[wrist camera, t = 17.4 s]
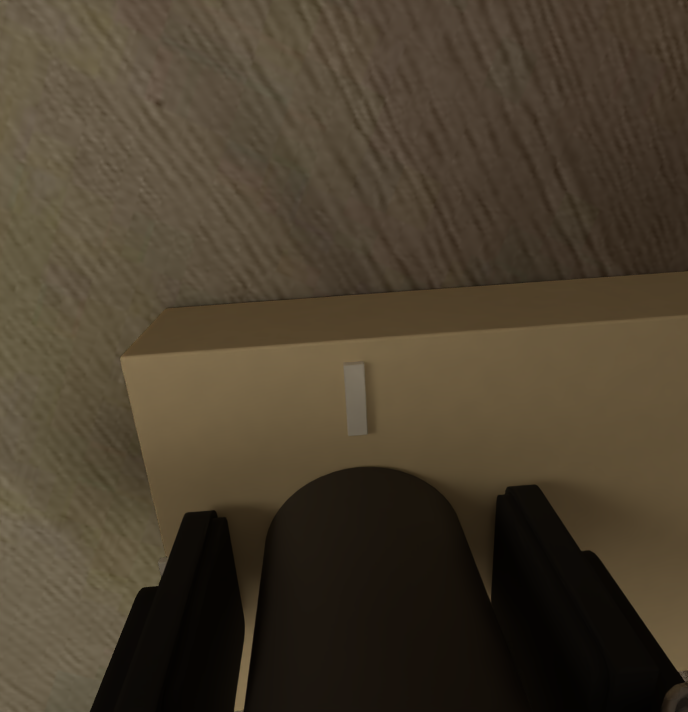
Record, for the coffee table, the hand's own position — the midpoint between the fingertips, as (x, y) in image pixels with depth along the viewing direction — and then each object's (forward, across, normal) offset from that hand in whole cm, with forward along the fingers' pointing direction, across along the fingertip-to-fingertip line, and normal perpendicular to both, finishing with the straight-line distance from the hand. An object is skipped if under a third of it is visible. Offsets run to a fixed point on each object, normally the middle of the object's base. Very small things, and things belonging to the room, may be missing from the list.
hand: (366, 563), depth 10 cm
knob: (0, 0, 0) cm, 0 cm away
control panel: (+3, -2, 0) cm, 4 cm away
